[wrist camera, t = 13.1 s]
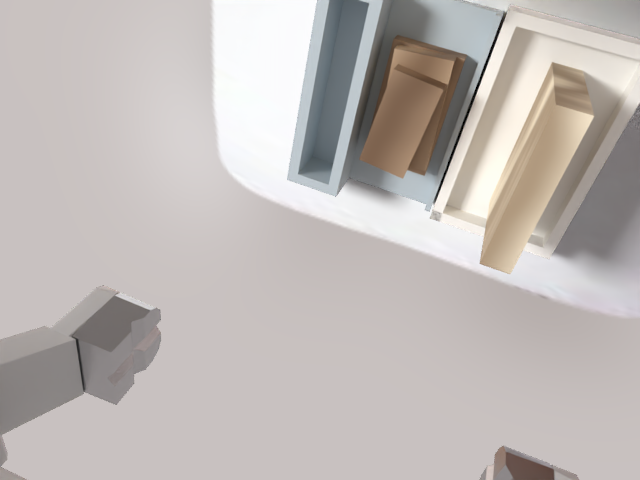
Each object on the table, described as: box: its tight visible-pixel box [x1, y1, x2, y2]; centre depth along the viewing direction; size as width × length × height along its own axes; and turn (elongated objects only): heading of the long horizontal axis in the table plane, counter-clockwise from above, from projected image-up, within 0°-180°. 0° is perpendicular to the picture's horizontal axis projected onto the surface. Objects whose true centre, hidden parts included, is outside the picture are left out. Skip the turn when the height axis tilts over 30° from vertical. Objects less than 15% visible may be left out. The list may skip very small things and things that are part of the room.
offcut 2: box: [359, 64, 446, 179], centre depth 36 cm, size 4×7×1 cm, turn 163°
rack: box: [287, 0, 504, 212], centre depth 38 cm, size 12×15×4 cm
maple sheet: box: [480, 62, 594, 274], centre depth 34 cm, size 2×11×9 cm, turn 168°
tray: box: [430, 4, 640, 259], centre depth 37 cm, size 10×16×2 cm, turn 169°
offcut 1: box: [369, 35, 467, 176], centre depth 38 cm, size 5×9×1 cm, turn 169°
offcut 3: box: [387, 44, 457, 171], centre depth 37 cm, size 4×8×1 cm, turn 173°
